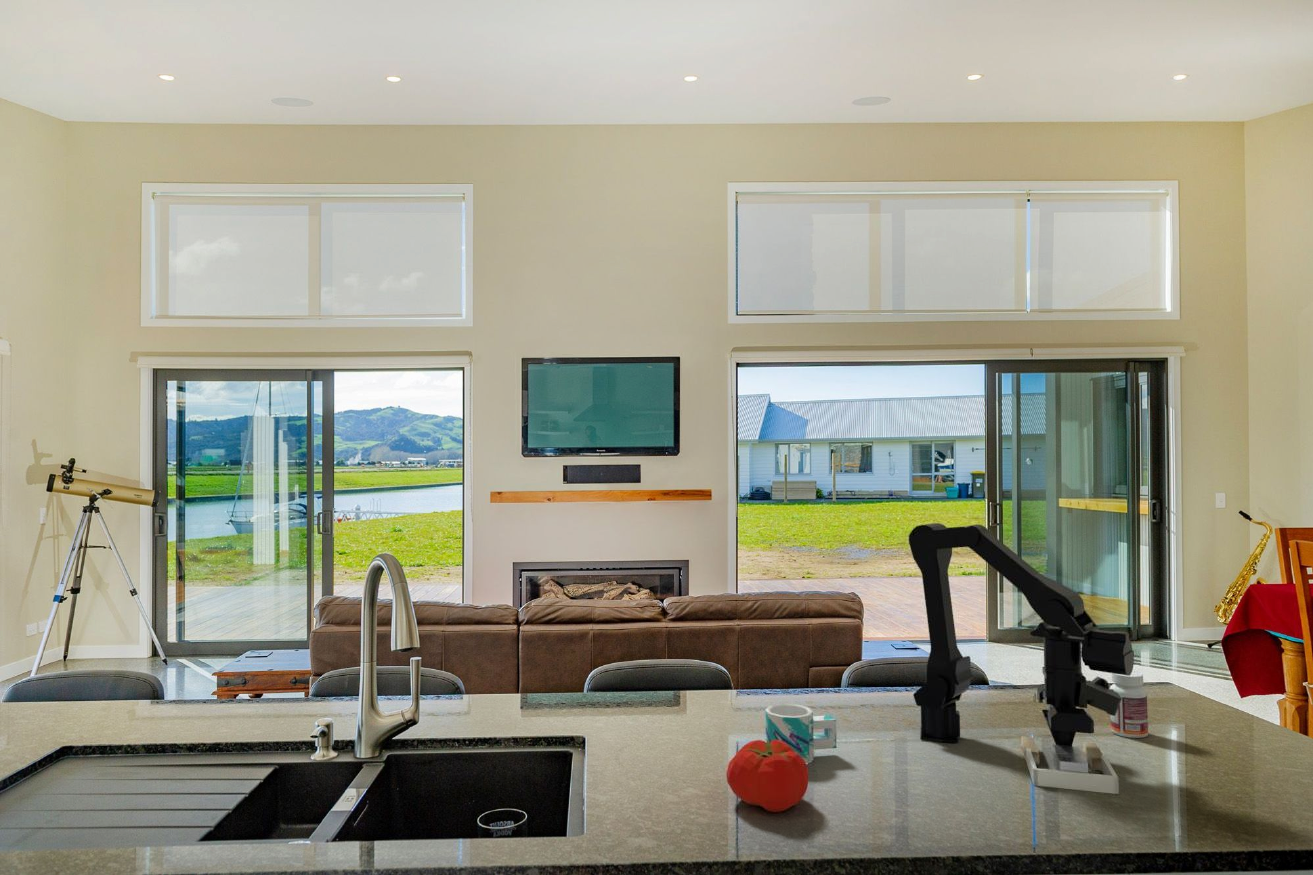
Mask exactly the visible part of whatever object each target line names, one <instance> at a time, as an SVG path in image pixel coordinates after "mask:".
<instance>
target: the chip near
mask: <svg viewBox="0 0 1313 875" xmlns="http://www.w3.org/2000/svg"><path fill="white" fill-rule="evenodd" d="M1056 767H1057V770H1058V771H1068V772H1078V773H1088V774H1089V763H1088V761H1087V759H1086V757H1085V755H1084V754H1083V755H1076V754H1065V753H1056Z"/></svg>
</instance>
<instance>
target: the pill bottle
mask: <svg viewBox="0 0 1313 875" xmlns="http://www.w3.org/2000/svg"><path fill="white" fill-rule="evenodd" d="M1111 682H1112V683H1113V684H1111V685H1110V687H1109V689H1113V690H1114V691H1115V692H1117V693H1118V694H1119V695H1120V697H1121V698H1122V700H1121V702H1120V705H1119V707H1118V710H1117V713H1116V715H1115V716H1113V715H1110V714H1109V716H1110V730H1111V732H1112V733H1114V734H1115V735H1117V736H1121V737H1123V738H1128V739H1142V738H1147V736H1148V735H1149V720H1148V716H1149V715H1148V714H1149V712H1148V693H1147V690H1146V688H1144V687H1143V685H1144V675H1143V673H1141V672H1138V671H1136V670H1132V673H1131V675H1130V676H1127V675H1121V674H1114V673H1111Z"/></svg>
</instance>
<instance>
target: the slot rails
mask: <svg viewBox="0 0 1313 875" xmlns="http://www.w3.org/2000/svg"><path fill="white" fill-rule="evenodd" d="M1020 738H1021V739H1020V741H1021V743H1020V744H1021V750H1022V754H1023V757H1024V759H1025V763H1026V764H1027V762H1026V748H1027V749H1030V750H1031V753H1032V756H1033V759H1034V761H1035V764H1036V765H1040V752H1039V751H1040V750H1039V749H1038V747H1037V743H1036V740H1035V737H1031V736H1024V735H1023V736H1020ZM1082 744H1083V745H1082V749H1083V751H1082V753H1083V755H1084V757H1085V759H1086V761H1087V763H1088V766H1089V767H1090V768H1091V770H1094V771H1101V755H1103V752H1102V751H1101V750H1100V749H1101V748H1100V747H1099V746H1098V744H1097V743H1096V742H1089V741H1082Z"/></svg>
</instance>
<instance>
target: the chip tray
mask: <svg viewBox="0 0 1313 875" xmlns="http://www.w3.org/2000/svg"><path fill="white" fill-rule="evenodd" d="M1026 762H1027V763H1026ZM1025 763H1026V765H1027V769H1028V772H1029V776H1030V777H1031V781H1032V785H1033V786H1037V787H1046V788H1047V787H1048V788H1055V789H1056V788H1057V789H1066V790H1076V791H1084V792H1094V793H1104V794H1114V795H1119V792H1120V790H1119V789H1120V788H1119V787H1120V786H1119V776H1118V775H1117V773H1116V772H1115V769H1114V768H1113V767H1112V765H1111V763H1110V761H1109V760H1108V758H1107V756H1106V755H1101V770H1100V771H1101V773H1102V774H1096V773H1089V772H1088V773H1078V772H1068V771H1058V770H1054V769H1046V768H1045V769H1044V768H1037V764H1035V761H1034V759H1033V756H1032V753H1031V750H1030V749H1027V748H1026V760H1025Z"/></svg>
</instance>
